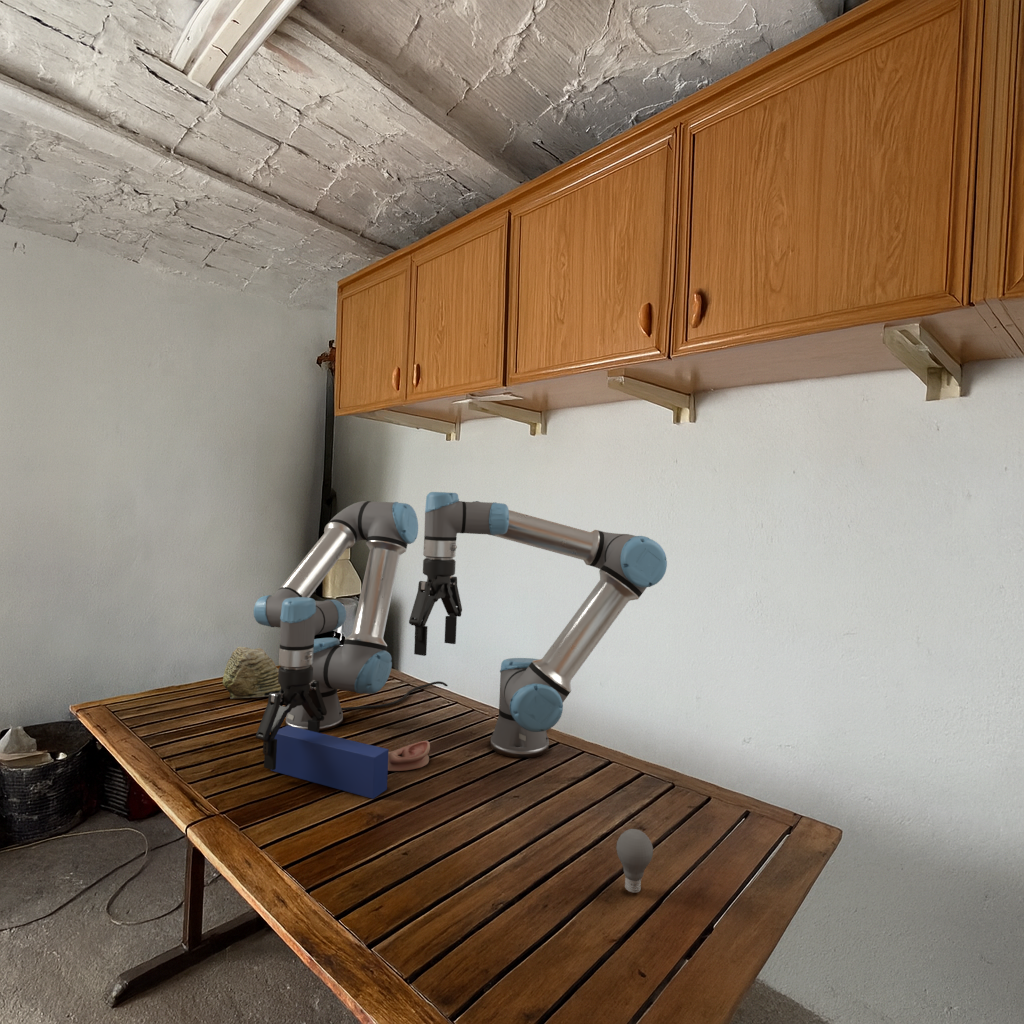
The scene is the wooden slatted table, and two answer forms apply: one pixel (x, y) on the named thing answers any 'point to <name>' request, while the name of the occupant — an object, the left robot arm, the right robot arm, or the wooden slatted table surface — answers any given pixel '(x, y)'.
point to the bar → (332, 761)
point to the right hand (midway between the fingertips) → (435, 648)
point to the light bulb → (634, 857)
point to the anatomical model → (409, 757)
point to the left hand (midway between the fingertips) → (291, 757)
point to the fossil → (250, 674)
